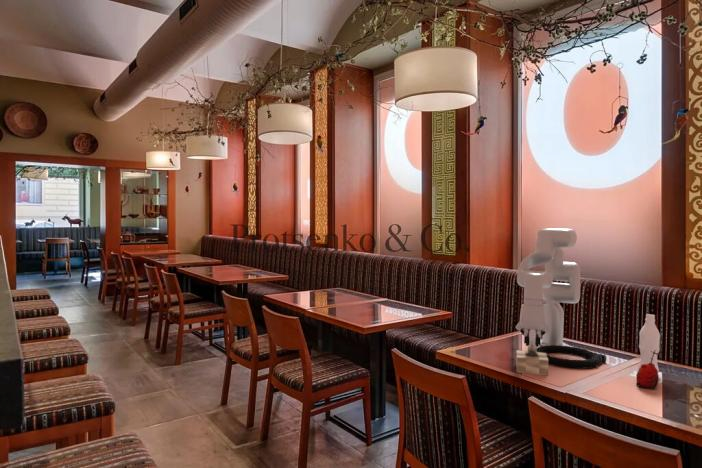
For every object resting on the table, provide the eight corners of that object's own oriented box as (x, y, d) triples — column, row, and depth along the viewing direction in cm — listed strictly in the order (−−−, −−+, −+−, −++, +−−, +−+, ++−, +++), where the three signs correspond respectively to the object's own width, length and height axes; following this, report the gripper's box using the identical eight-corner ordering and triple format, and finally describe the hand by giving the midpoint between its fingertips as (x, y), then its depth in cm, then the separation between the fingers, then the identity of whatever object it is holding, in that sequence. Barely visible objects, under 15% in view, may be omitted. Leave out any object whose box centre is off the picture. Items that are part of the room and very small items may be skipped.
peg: (527, 353, 203) (528, 321, 203) (536, 354, 202) (537, 321, 202) (527, 356, 200) (528, 322, 199) (536, 357, 199) (537, 323, 198)
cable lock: (529, 342, 233) (596, 346, 227) (529, 350, 233) (596, 354, 227) (540, 358, 205) (616, 363, 199) (539, 367, 206) (615, 372, 200)
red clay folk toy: (646, 382, 187) (647, 344, 186) (663, 389, 180) (664, 349, 179) (631, 384, 184) (633, 346, 184) (648, 391, 178) (649, 351, 177)
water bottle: (635, 375, 196) (637, 314, 195) (641, 371, 200) (643, 312, 199) (655, 379, 190) (657, 317, 189) (661, 376, 195) (663, 315, 194)
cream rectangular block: (516, 363, 209) (516, 350, 209) (545, 366, 205) (546, 352, 205) (516, 372, 198) (517, 357, 197) (548, 375, 194) (548, 360, 194)
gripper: (553, 302, 201) (552, 345, 202) (512, 299, 207) (511, 341, 207) (555, 305, 194) (554, 350, 195) (512, 302, 199) (511, 346, 200)
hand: (532, 345), depth 201 cm, fingers closed on peg, 3 cm apart
